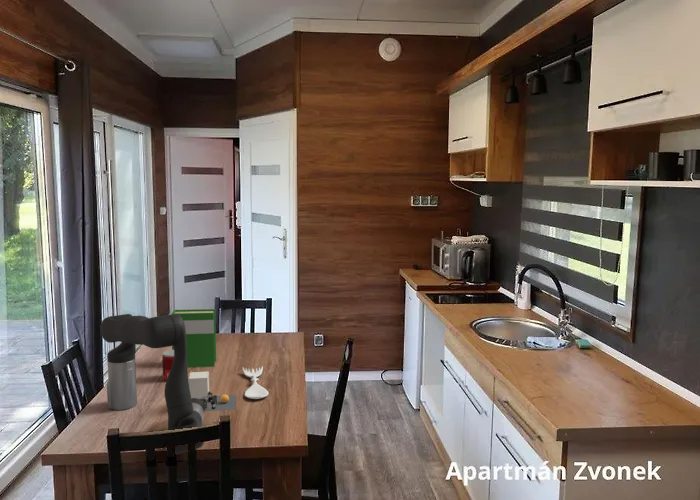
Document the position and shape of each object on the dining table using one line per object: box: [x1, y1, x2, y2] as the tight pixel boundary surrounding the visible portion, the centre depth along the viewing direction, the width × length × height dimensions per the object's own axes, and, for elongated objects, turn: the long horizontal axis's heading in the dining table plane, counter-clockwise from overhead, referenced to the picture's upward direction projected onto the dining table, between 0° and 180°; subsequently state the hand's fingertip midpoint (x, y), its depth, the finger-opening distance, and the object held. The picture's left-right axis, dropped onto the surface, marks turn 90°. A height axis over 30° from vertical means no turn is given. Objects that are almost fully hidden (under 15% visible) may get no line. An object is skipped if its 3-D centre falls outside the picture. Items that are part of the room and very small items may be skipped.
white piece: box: [241, 365, 269, 400], centre depth 216 cm, size 9×32×4 cm, turn 13°
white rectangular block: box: [188, 371, 210, 399], centre depth 197 cm, size 6×6×11 cm
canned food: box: [161, 349, 174, 381], centre depth 223 cm, size 8×8×11 cm
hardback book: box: [170, 308, 217, 368], centre depth 239 cm, size 18×7×24 cm, turn 98°
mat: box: [205, 394, 237, 412], centre depth 199 cm, size 18×13×3 cm
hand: (196, 394), depth 187 cm, fingers open, 8 cm apart
